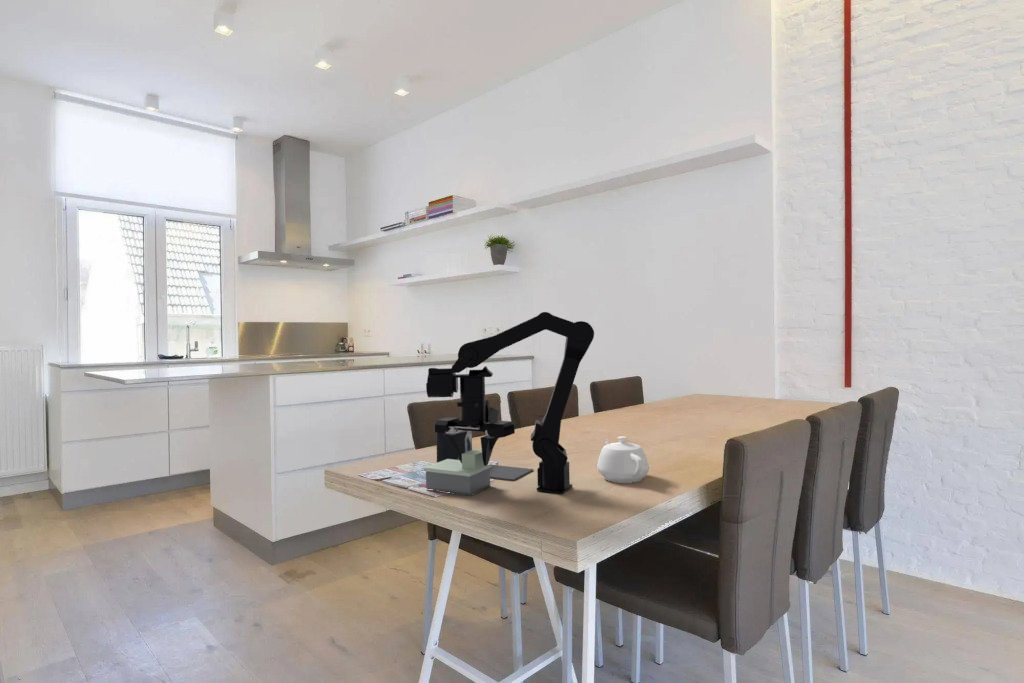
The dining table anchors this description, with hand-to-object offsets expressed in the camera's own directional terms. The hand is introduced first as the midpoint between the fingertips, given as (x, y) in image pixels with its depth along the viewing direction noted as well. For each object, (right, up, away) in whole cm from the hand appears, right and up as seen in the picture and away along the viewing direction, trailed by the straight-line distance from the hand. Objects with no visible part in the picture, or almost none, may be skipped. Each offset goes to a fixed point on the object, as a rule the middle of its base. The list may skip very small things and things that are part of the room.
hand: (474, 464), depth 131 cm
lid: (-4, -2, +2) cm, 5 cm away
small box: (-7, -6, +24) cm, 26 cm away
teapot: (+36, -5, +8) cm, 37 cm away
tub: (-4, -6, +2) cm, 8 cm away
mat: (+5, -6, +15) cm, 17 cm away
